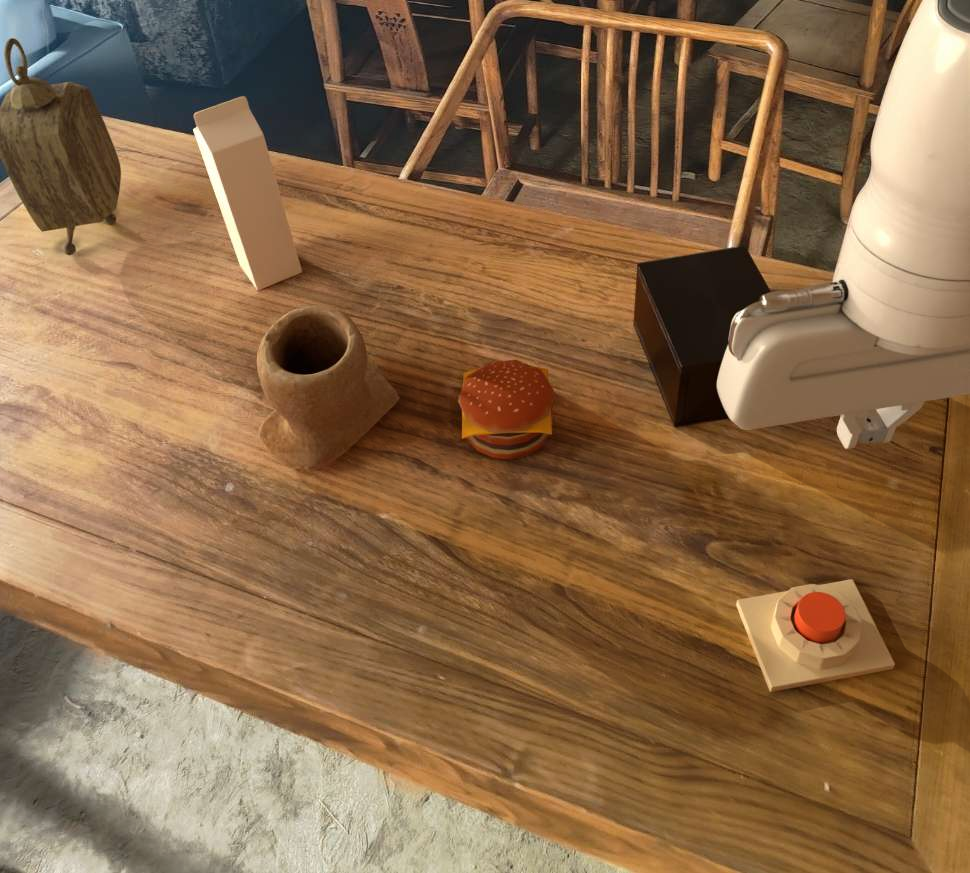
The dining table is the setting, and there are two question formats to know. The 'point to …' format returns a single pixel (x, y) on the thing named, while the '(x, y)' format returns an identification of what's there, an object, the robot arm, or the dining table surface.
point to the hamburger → (507, 408)
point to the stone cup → (318, 387)
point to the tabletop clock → (57, 152)
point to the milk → (247, 191)
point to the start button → (819, 617)
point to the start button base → (804, 660)
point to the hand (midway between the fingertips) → (862, 438)
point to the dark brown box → (692, 324)
